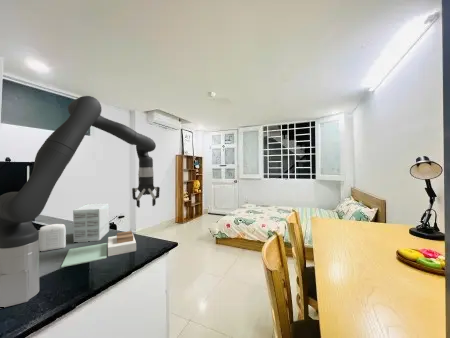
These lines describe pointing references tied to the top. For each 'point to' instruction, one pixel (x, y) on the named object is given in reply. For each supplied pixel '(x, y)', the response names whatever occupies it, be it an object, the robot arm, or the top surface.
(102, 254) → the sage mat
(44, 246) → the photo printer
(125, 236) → the walnut tile
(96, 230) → the supplement box
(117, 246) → the white flat block
